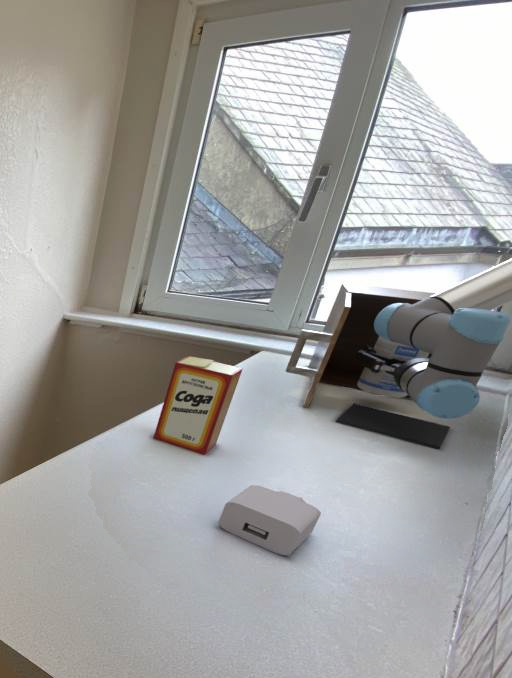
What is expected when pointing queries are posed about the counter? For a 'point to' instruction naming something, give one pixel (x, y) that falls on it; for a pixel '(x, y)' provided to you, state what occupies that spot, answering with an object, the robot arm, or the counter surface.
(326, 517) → the counter surface
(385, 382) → the supplement tub
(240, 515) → the charger
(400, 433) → the mat
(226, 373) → the baking soda box
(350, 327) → the cupboard
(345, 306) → the cupboard door
